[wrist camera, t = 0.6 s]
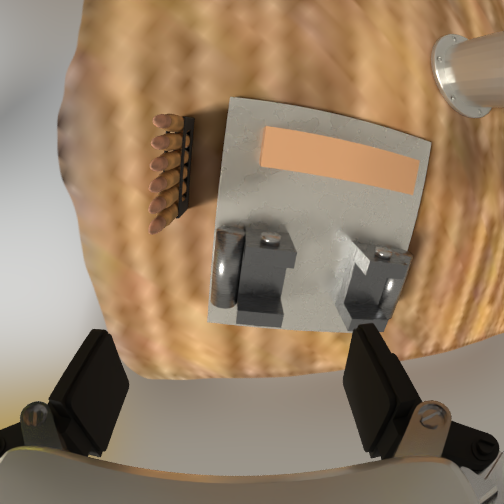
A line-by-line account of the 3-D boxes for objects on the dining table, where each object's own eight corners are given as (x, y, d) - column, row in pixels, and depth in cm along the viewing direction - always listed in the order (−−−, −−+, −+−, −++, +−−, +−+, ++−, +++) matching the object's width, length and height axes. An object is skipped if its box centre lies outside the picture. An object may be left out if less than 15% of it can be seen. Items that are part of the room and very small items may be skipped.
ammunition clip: (188, 209, 34) (161, 244, 23) (172, 208, 34) (139, 243, 23) (194, 117, 30) (167, 107, 19) (178, 117, 30) (144, 107, 19)
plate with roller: (427, 142, 31) (459, 146, 25) (375, 329, 41) (393, 358, 35) (230, 98, 29) (226, 87, 23) (208, 317, 40) (202, 350, 33)
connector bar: (402, 157, 31) (419, 160, 27) (396, 188, 32) (412, 195, 29) (263, 127, 30) (266, 125, 26) (258, 163, 31) (260, 166, 28)
